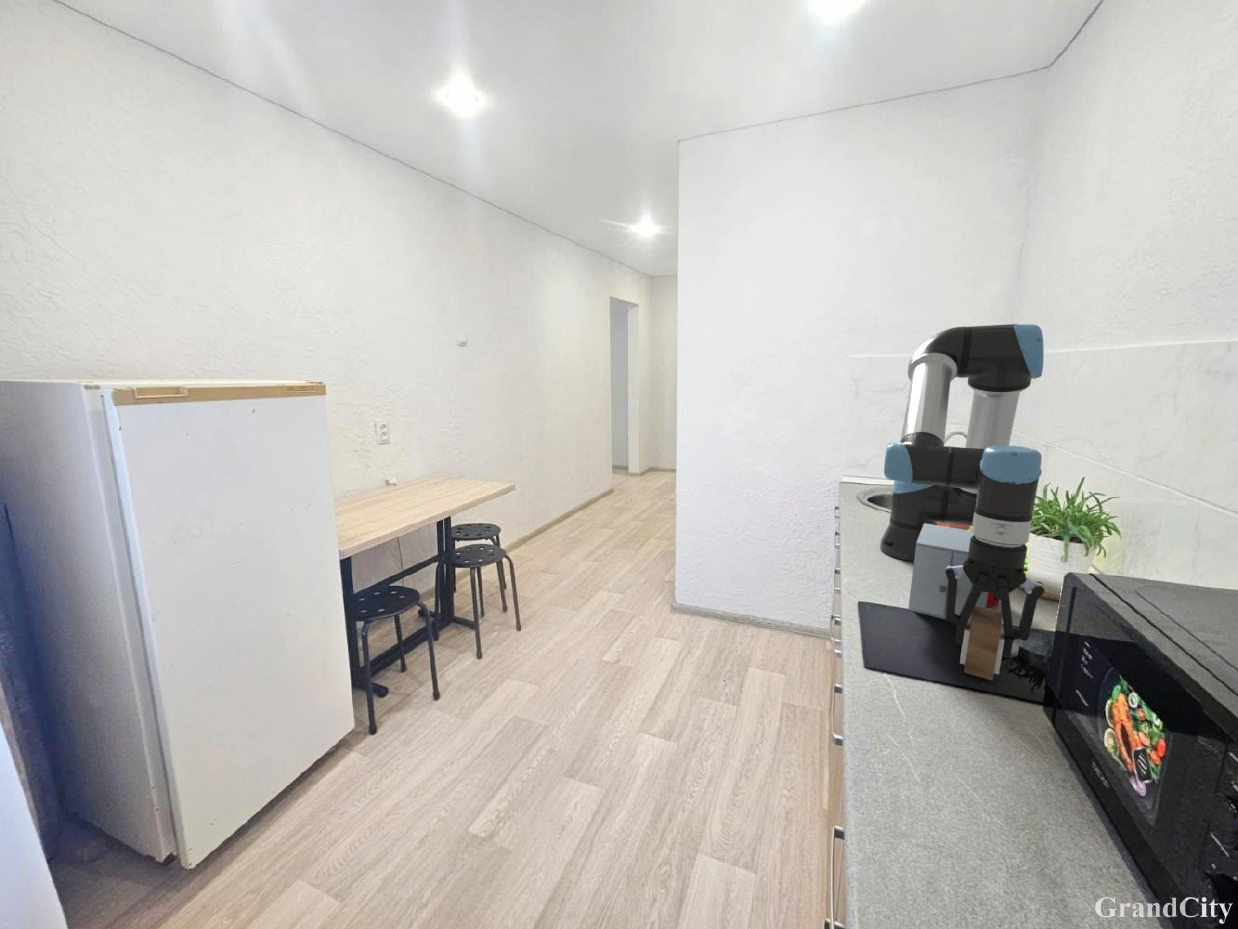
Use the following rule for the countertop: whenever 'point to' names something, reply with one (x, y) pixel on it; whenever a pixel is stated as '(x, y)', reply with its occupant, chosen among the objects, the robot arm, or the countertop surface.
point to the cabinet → (940, 570)
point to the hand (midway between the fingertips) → (979, 664)
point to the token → (1014, 649)
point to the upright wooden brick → (983, 642)
